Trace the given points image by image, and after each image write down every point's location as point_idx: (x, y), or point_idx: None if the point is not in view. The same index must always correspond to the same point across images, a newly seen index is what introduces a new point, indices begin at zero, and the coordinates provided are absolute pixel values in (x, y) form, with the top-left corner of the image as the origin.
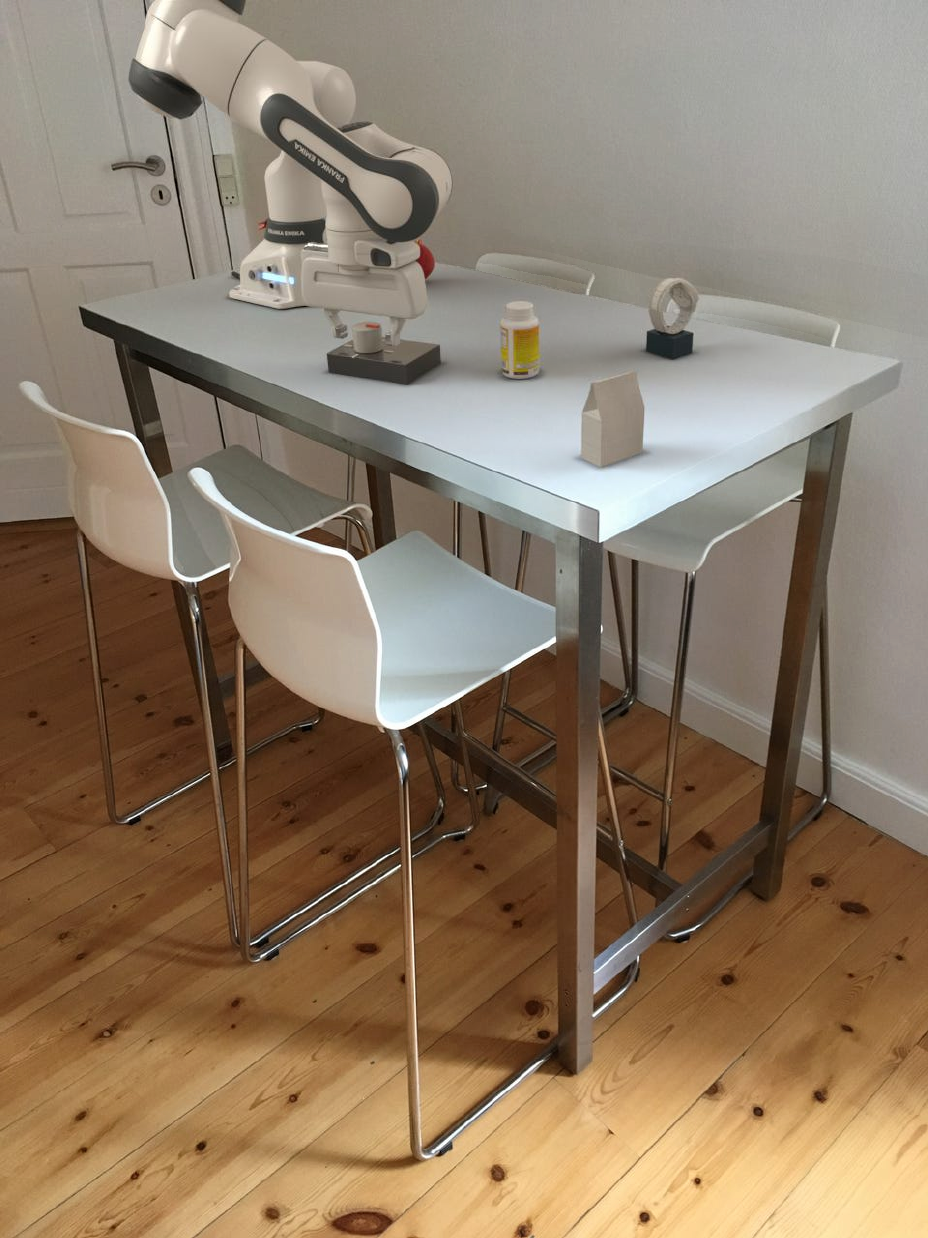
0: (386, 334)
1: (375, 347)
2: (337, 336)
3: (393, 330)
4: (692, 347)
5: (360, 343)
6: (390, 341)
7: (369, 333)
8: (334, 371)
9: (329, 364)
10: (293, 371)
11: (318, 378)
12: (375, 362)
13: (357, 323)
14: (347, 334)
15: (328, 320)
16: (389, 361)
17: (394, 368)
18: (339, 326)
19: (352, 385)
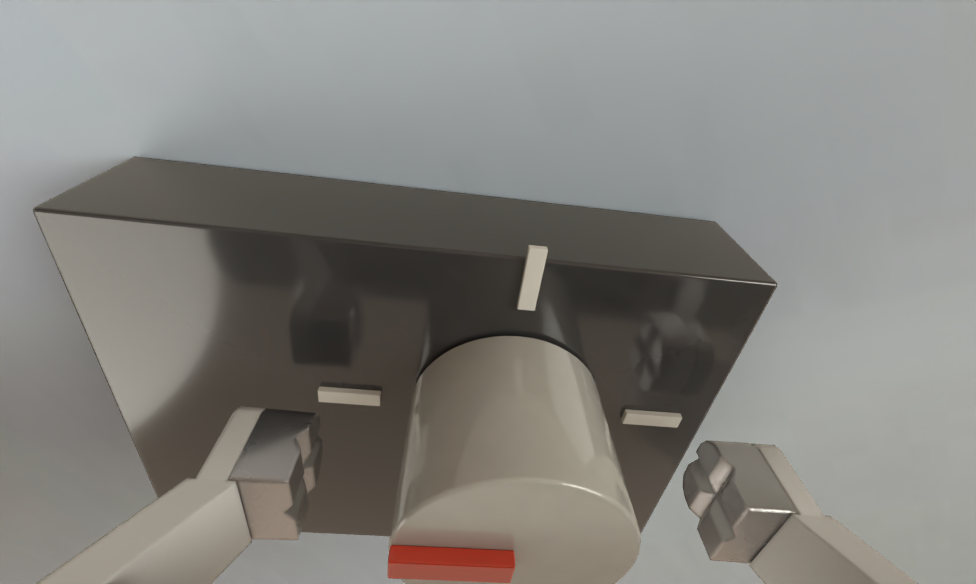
0: (272, 479)
1: (421, 393)
2: (747, 449)
3: (161, 517)
4: None
5: (518, 384)
6: (255, 428)
7: (435, 468)
8: (676, 220)
9: (724, 241)
10: (948, 183)
11: (759, 107)
12: (338, 230)
13: (616, 576)
14: (684, 490)
15: (892, 567)
16: (210, 242)
17: (170, 199)
18: (763, 530)
19: (471, 37)
